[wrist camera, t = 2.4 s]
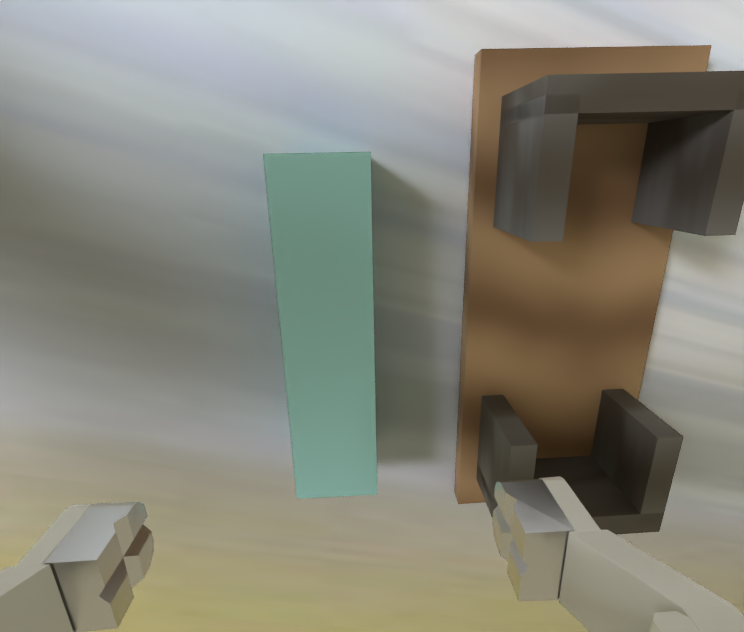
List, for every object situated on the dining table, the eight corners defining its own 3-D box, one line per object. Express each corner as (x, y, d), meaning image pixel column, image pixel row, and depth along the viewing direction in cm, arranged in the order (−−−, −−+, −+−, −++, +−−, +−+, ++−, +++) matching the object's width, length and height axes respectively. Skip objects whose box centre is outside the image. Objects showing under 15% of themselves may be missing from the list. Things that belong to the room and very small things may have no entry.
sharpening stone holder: (474, 55, 19) (523, 11, 14) (693, 51, 19) (821, 7, 14) (454, 491, 27) (480, 570, 21) (609, 482, 27) (670, 557, 22)
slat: (281, 157, 20) (263, 153, 16) (366, 155, 20) (370, 151, 16) (305, 443, 25) (296, 498, 21) (372, 439, 25) (377, 494, 21)
